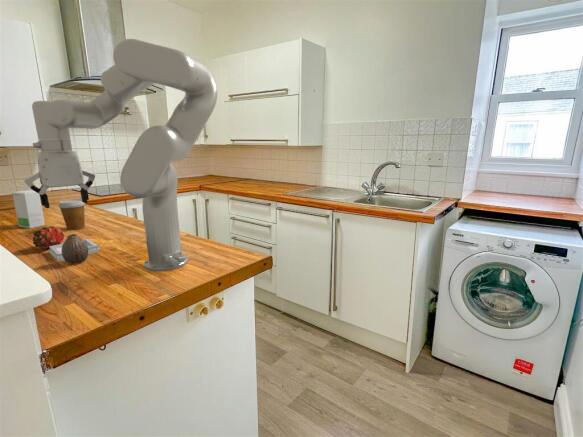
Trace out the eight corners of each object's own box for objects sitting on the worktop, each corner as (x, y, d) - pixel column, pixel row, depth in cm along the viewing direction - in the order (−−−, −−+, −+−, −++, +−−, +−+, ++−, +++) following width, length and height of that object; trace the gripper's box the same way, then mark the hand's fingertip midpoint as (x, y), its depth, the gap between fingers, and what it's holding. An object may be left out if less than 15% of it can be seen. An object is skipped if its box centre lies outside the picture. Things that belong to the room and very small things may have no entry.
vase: (85, 256, 105) (80, 230, 103) (93, 261, 101) (88, 234, 99) (60, 262, 100) (55, 235, 98) (68, 267, 96) (62, 240, 94)
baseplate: (99, 251, 110) (98, 245, 109) (57, 261, 101) (56, 254, 101) (89, 244, 118) (88, 238, 117) (49, 252, 109) (48, 246, 109)
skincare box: (18, 226, 142) (10, 192, 138) (34, 223, 148) (27, 189, 144) (30, 228, 139) (23, 193, 136) (46, 224, 145) (39, 190, 142)
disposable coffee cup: (86, 224, 146) (81, 198, 143) (91, 228, 139) (87, 201, 136) (60, 228, 139) (55, 201, 136) (65, 232, 132) (60, 204, 130)
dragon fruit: (39, 258, 108) (58, 251, 120) (60, 242, 109) (77, 237, 121) (20, 239, 107) (41, 234, 118) (41, 223, 107) (60, 219, 119)
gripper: (19, 147, 84) (33, 211, 88) (93, 146, 96) (102, 202, 100) (15, 147, 89) (28, 207, 93) (86, 146, 101) (94, 199, 105)
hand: (66, 205), depth 96 cm, fingers open, 9 cm apart
